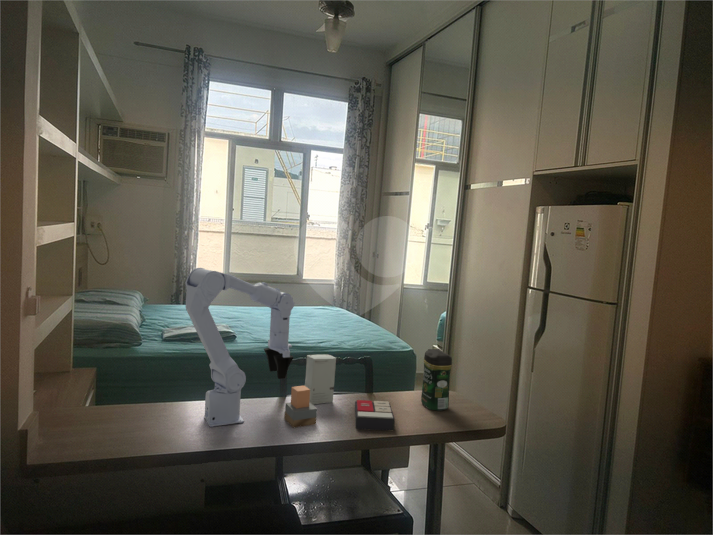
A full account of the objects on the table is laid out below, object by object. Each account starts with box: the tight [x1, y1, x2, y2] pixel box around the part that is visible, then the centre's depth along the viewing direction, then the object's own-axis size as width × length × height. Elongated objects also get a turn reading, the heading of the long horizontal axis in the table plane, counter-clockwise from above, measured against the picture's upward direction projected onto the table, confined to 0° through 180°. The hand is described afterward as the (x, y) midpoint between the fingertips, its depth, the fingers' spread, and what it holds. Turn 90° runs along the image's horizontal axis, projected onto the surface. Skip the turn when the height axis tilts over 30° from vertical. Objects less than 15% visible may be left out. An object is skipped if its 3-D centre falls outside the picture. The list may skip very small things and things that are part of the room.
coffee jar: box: [420, 348, 453, 412], centre depth 155 cm, size 10×8×19 cm
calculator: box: [354, 399, 396, 431], centre depth 142 cm, size 11×4×15 cm
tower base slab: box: [283, 411, 317, 429], centre depth 137 cm, size 7×7×2 cm
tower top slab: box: [284, 401, 318, 420], centre depth 137 cm, size 7×7×2 cm
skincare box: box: [304, 354, 337, 406], centre depth 154 cm, size 8×6×15 cm
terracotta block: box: [290, 384, 310, 409], centre depth 137 cm, size 4×4×5 cm
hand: (277, 374), depth 145 cm, fingers open, 7 cm apart
